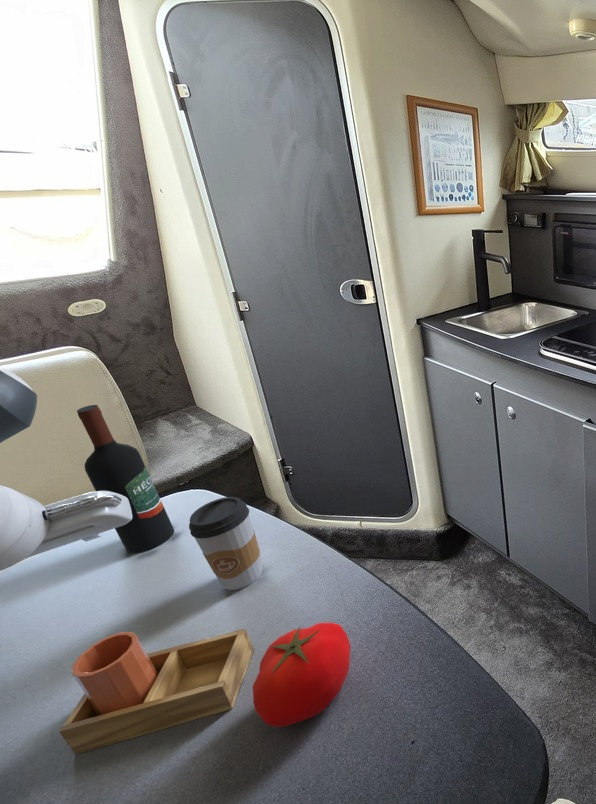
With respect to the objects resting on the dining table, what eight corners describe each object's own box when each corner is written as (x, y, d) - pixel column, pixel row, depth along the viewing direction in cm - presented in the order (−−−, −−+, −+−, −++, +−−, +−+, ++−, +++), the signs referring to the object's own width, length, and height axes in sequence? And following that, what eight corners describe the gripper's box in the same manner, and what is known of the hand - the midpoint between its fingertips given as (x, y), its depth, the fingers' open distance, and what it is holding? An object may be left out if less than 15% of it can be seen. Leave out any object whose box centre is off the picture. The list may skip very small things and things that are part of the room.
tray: (232, 708, 68) (221, 686, 66) (74, 755, 63) (58, 732, 61) (254, 649, 76) (245, 628, 74) (116, 686, 71) (103, 664, 69)
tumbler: (93, 735, 64) (59, 683, 61) (121, 689, 70) (91, 639, 66) (150, 719, 66) (120, 667, 62) (172, 675, 72) (146, 625, 68)
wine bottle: (138, 531, 102) (75, 403, 91) (181, 522, 104) (124, 396, 93) (117, 557, 95) (46, 422, 84) (163, 547, 97) (100, 414, 86)
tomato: (377, 664, 73) (362, 613, 69) (302, 757, 62) (279, 703, 58) (320, 643, 76) (302, 593, 72) (240, 726, 65) (214, 673, 61)
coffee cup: (206, 601, 85) (175, 532, 79) (227, 565, 92) (199, 500, 87) (261, 589, 87) (234, 521, 81) (276, 555, 94) (252, 490, 89)
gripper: (107, 469, 62) (142, 495, 72) (-165, 547, 50) (-75, 564, 61) (117, 517, 60) (151, 536, 71) (-162, 608, 48) (-70, 614, 59)
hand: (45, 549), depth 66 cm, fingers open, 8 cm apart
